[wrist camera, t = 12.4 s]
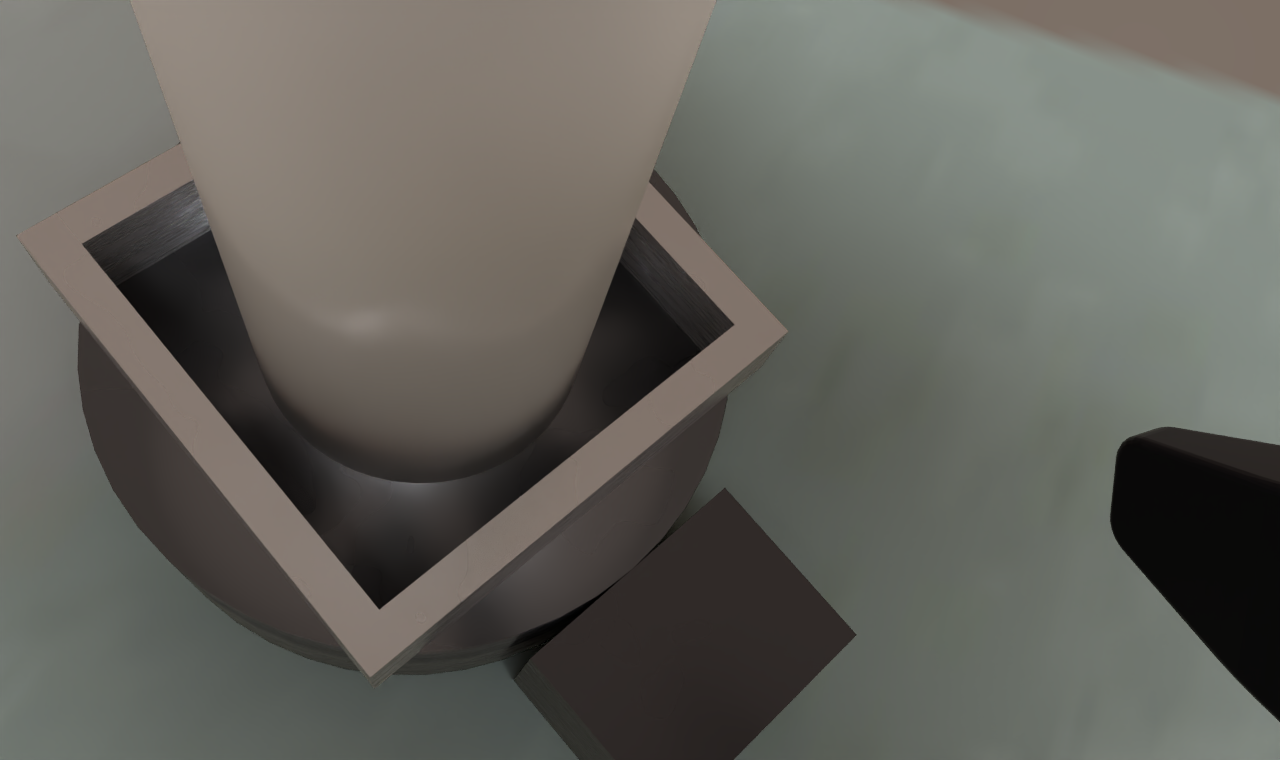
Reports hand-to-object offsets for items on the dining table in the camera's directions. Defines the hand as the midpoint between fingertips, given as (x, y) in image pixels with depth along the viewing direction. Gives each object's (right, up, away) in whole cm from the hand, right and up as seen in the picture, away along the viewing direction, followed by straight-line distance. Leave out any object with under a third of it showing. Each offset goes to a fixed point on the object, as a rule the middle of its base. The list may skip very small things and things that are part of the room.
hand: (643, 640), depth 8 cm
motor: (-3, +1, +11) cm, 12 cm away
